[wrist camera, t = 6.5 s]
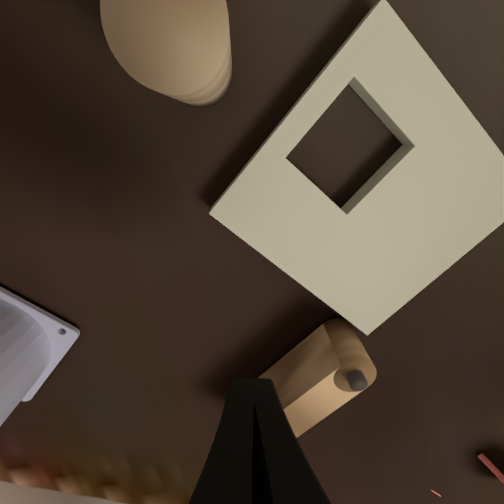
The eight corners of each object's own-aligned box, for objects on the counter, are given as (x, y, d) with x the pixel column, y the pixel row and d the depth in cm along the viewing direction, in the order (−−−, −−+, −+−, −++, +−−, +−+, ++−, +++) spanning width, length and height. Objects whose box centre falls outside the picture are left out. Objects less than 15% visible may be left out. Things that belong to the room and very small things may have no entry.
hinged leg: (335, 310, 20) (362, 360, 15) (358, 329, 20) (390, 382, 16) (227, 401, 23) (224, 464, 18) (250, 415, 23) (253, 478, 19)
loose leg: (151, 74, 14) (76, 31, 7) (189, 10, 13) (143, -104, 6) (206, 121, 15) (183, 119, 8) (245, 64, 14) (254, 12, 7)
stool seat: (210, 207, 16) (208, 213, 15) (371, 8, 13) (383, -3, 12) (360, 323, 20) (367, 335, 19) (514, 192, 17) (534, 196, 16)
